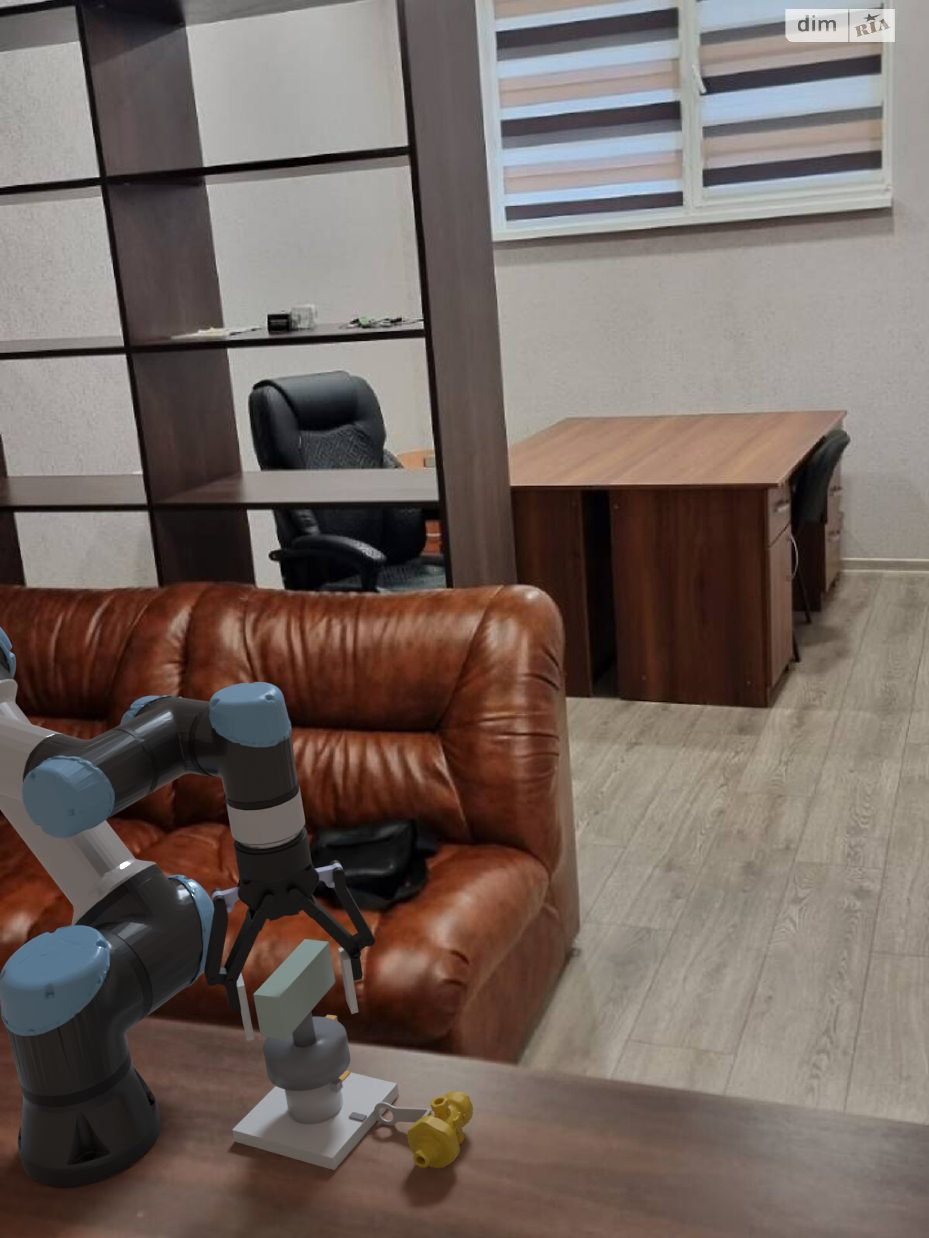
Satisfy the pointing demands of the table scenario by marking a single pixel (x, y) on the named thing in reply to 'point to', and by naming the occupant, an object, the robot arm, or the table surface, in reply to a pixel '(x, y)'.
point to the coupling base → (320, 1135)
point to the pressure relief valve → (433, 1127)
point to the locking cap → (301, 1021)
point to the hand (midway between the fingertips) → (301, 1019)
